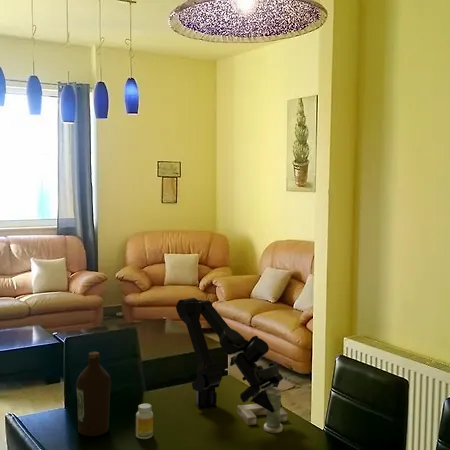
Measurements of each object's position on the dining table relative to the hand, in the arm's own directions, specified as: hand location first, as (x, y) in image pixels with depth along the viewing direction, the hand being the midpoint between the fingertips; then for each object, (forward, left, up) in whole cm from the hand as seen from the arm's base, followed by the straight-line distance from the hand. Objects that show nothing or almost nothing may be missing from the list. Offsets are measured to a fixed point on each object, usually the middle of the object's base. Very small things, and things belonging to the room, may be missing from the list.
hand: (277, 409), depth 192 cm
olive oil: (-57, +14, -7) cm, 59 cm away
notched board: (-1, +12, -7) cm, 14 cm away
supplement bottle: (-42, +6, -7) cm, 43 cm away
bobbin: (-1, +1, -7) cm, 7 cm away
